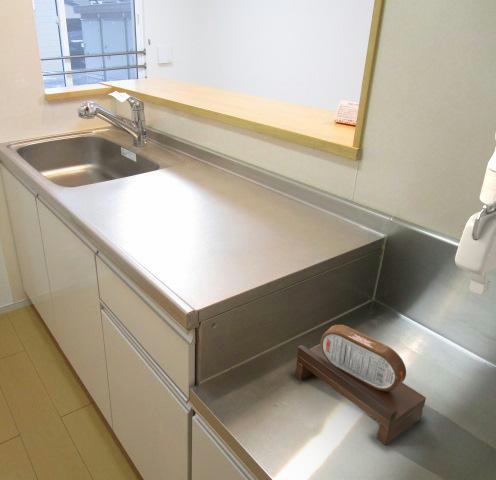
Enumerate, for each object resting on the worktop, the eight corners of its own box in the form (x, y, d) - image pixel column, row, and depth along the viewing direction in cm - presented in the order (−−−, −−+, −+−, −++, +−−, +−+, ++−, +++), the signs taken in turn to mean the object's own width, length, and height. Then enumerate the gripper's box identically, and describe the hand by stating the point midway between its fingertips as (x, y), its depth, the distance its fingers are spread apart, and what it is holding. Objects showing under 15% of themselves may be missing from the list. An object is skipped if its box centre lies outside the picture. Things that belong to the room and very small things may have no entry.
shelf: (329, 357, 94) (333, 329, 91) (420, 419, 79) (429, 388, 76) (294, 375, 89) (298, 346, 86) (384, 445, 74) (392, 413, 71)
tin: (402, 393, 78) (411, 354, 74) (393, 402, 76) (403, 362, 72) (324, 352, 88) (330, 316, 84) (315, 359, 86) (320, 322, 83)
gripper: (508, 215, 53) (480, 314, 58) (581, 182, 62) (551, 270, 68) (454, 201, 58) (433, 294, 63) (529, 173, 67) (505, 256, 73)
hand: (494, 281), depth 66 cm, fingers open, 8 cm apart
